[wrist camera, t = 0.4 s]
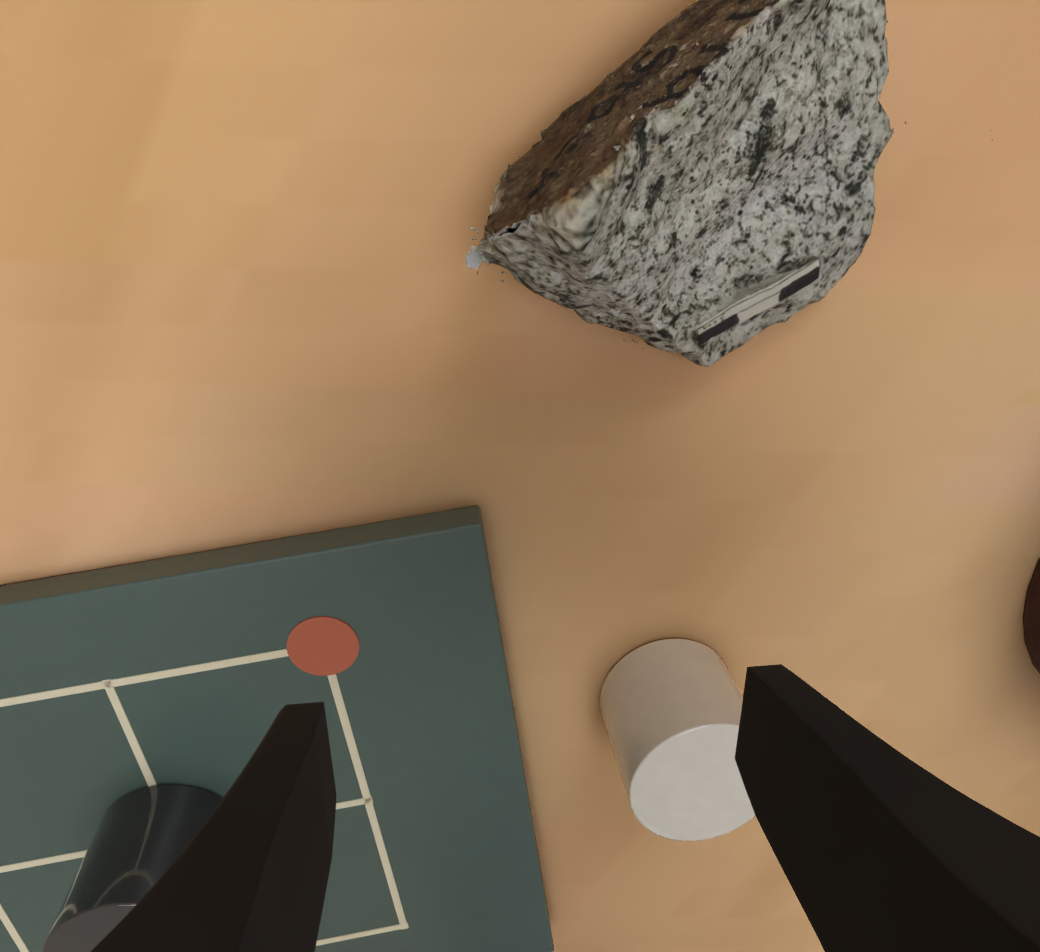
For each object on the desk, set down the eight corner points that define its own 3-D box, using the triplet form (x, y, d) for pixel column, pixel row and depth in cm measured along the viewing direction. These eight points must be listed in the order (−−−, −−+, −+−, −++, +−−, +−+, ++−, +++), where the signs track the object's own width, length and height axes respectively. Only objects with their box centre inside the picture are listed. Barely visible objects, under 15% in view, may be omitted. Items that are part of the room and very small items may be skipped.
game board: (549, 922, 29) (555, 954, 28) (-42, 1040, 28) (-62, 1078, 27) (479, 503, 22) (482, 524, 21) (-330, 640, 21) (-374, 669, 20)
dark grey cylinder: (265, 872, 25) (238, 997, 21) (127, 898, 25) (77, 1030, 21) (226, 771, 23) (190, 890, 19) (77, 799, 23) (12, 924, 19)
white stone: (730, 731, 26) (779, 826, 23) (605, 755, 26) (634, 854, 23) (728, 626, 25) (781, 711, 21) (593, 651, 24) (623, 740, 21)
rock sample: (748, 532, 19) (794, 332, 11) (502, 389, 22) (396, 147, 14) (953, 226, 21) (1119, -130, 13) (704, 133, 24) (714, -205, 16)
